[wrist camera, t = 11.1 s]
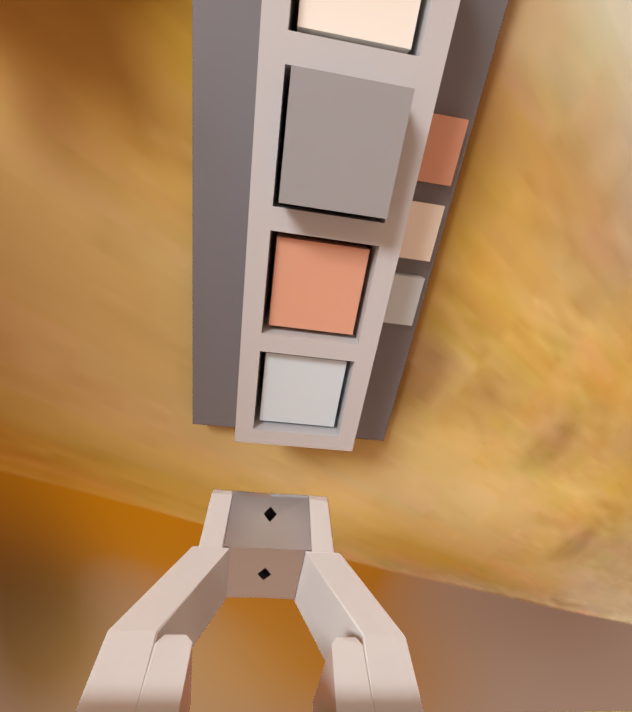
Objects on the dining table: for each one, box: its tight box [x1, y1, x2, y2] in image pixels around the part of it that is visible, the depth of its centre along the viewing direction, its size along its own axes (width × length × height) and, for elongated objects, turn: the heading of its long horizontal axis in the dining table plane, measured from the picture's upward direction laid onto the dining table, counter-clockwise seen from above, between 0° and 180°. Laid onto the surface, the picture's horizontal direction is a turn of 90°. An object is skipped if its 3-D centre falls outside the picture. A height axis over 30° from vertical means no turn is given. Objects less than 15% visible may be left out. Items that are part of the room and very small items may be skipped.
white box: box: [260, 352, 347, 427], centre depth 23 cm, size 4×4×4 cm
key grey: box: [279, 65, 415, 219], centre depth 16 cm, size 4×4×4 cm
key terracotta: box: [269, 232, 370, 335], centre depth 20 cm, size 4×4×4 cm
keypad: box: [193, 0, 508, 451], centre depth 19 cm, size 14×30×6 cm, turn 172°
